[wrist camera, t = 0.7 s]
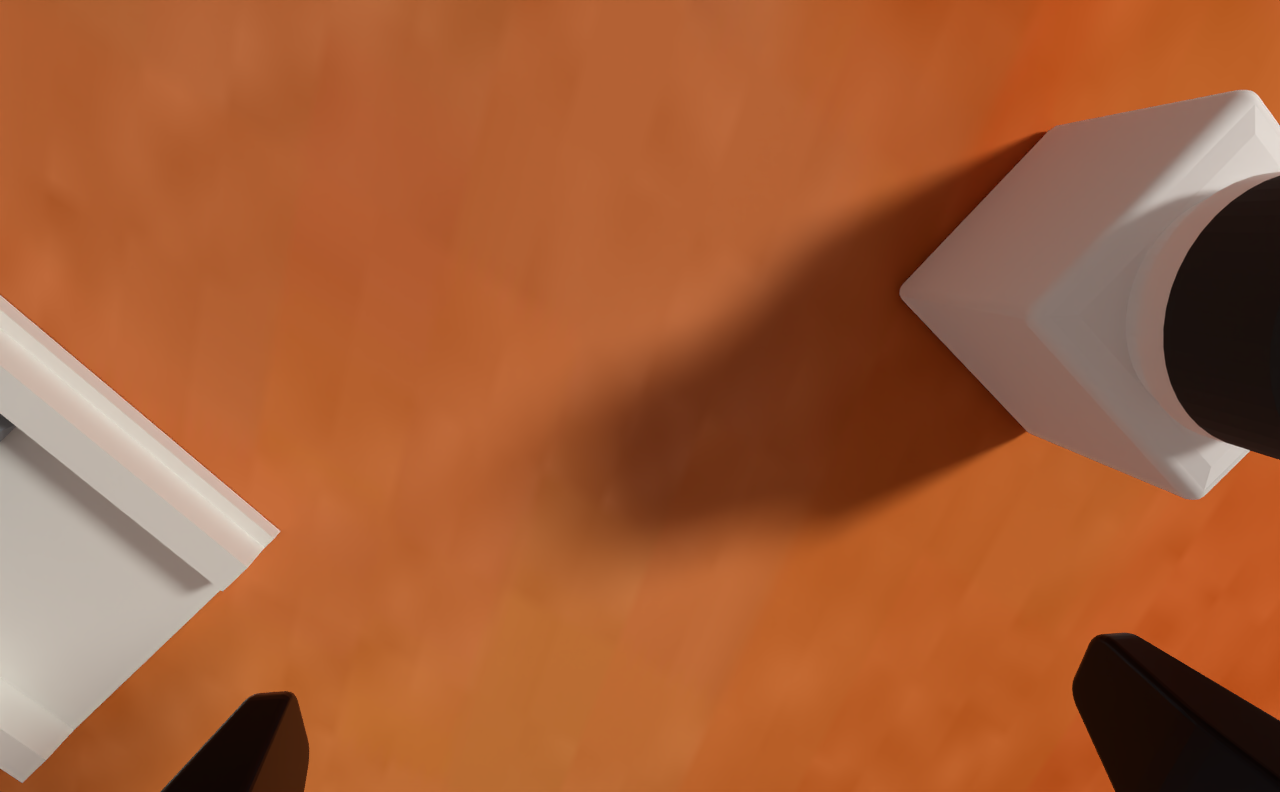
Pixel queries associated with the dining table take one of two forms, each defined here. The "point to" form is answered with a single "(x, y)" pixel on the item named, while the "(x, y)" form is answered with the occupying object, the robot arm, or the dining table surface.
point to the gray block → (5, 427)
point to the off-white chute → (94, 542)
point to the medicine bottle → (1128, 289)
